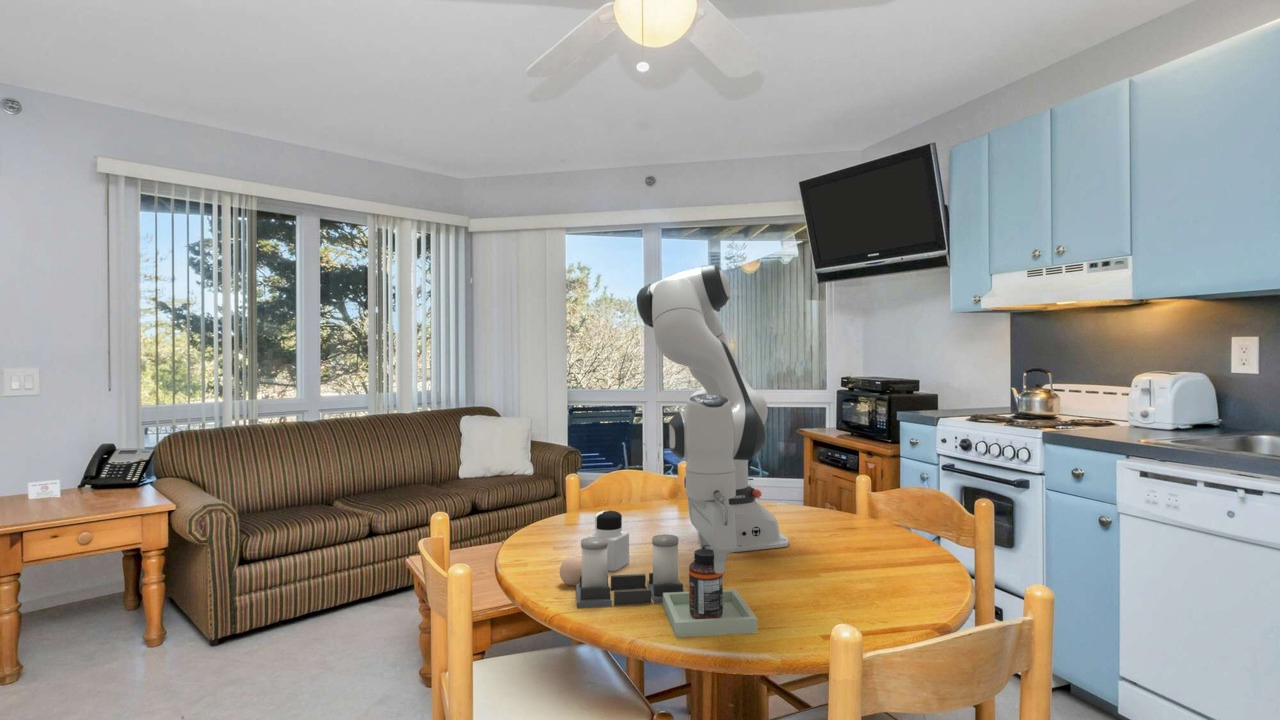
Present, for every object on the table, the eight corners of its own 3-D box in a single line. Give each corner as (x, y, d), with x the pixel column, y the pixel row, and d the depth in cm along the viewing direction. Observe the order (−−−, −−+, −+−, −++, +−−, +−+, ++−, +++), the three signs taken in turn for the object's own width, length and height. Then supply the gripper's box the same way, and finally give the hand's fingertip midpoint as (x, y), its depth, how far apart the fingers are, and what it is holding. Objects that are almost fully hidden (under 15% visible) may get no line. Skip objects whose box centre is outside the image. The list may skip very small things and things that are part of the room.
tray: (735, 601, 122) (735, 589, 122) (757, 632, 108) (757, 618, 108) (662, 605, 120) (662, 592, 120) (675, 637, 106) (675, 622, 106)
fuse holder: (678, 584, 132) (678, 530, 132) (687, 602, 122) (687, 544, 122) (576, 588, 129) (575, 534, 129) (577, 607, 120) (576, 548, 120)
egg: (556, 582, 133) (556, 554, 133) (580, 579, 135) (580, 551, 135) (563, 590, 129) (563, 561, 129) (587, 587, 131) (587, 558, 131)
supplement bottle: (687, 609, 117) (686, 547, 117) (719, 607, 117) (718, 546, 118) (692, 622, 111) (691, 557, 111) (726, 621, 112) (725, 555, 112)
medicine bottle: (629, 563, 146) (629, 510, 146) (615, 572, 139) (615, 517, 140) (602, 559, 149) (601, 507, 149) (586, 568, 142) (586, 514, 143)
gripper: (745, 497, 104) (746, 582, 105) (713, 474, 125) (715, 545, 125) (707, 499, 104) (708, 585, 104) (682, 476, 124) (683, 547, 124)
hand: (712, 563), depth 114 cm, fingers open, 8 cm apart
